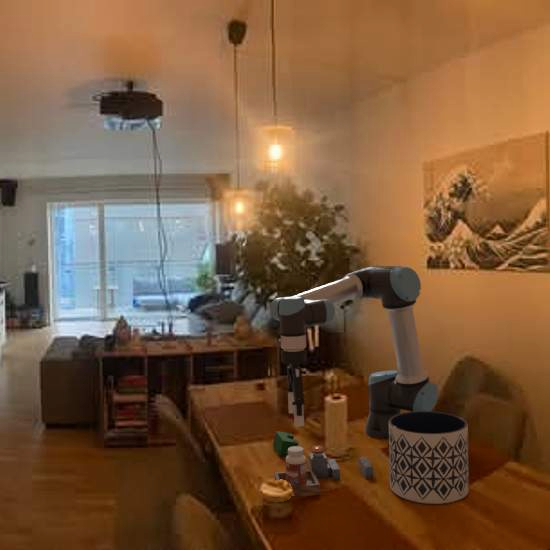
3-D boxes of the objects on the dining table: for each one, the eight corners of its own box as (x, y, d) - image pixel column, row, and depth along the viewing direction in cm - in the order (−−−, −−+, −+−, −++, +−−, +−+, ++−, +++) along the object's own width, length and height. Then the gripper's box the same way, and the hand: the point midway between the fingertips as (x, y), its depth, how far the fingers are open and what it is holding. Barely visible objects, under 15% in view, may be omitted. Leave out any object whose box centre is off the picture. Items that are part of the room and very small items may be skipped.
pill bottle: (282, 486, 191) (280, 449, 190) (294, 479, 195) (293, 443, 195) (298, 490, 187) (297, 453, 186) (311, 484, 191) (309, 447, 191)
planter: (456, 512, 172) (454, 438, 170) (378, 496, 183) (376, 427, 182) (477, 483, 190) (476, 416, 189) (405, 470, 202) (404, 407, 201)
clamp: (292, 466, 221) (300, 446, 217) (276, 464, 220) (283, 444, 216) (287, 443, 232) (295, 423, 228) (272, 441, 230) (279, 421, 227)
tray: (313, 479, 198) (312, 469, 198) (319, 494, 186) (319, 484, 186) (274, 481, 197) (274, 472, 196) (278, 497, 185) (278, 487, 185)
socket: (366, 467, 206) (366, 447, 206) (373, 478, 197) (372, 457, 197) (308, 471, 204) (307, 451, 204) (312, 482, 195) (312, 461, 195)
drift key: (323, 467, 202) (322, 445, 202) (325, 472, 198) (325, 449, 198) (311, 468, 202) (310, 445, 201) (313, 473, 198) (312, 450, 197)
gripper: (276, 342, 201) (279, 408, 203) (285, 357, 177) (288, 433, 178) (300, 341, 202) (302, 407, 204) (312, 356, 177) (315, 431, 179)
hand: (296, 419), depth 191 cm, fingers open, 13 cm apart
